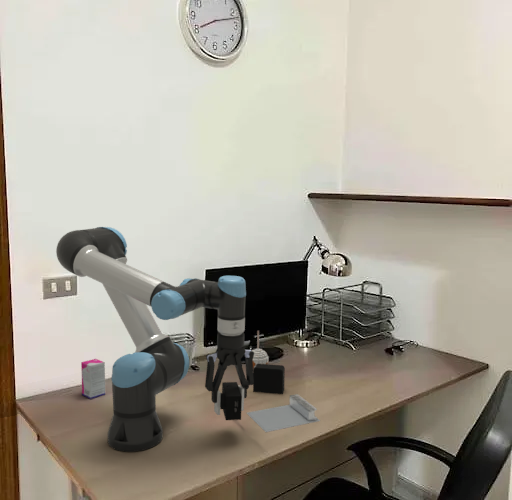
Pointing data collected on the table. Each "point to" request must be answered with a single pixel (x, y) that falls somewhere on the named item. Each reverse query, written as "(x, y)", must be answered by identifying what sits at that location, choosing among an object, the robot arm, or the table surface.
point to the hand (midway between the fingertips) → (228, 410)
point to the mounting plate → (278, 418)
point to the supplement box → (93, 378)
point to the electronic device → (268, 378)
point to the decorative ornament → (259, 354)
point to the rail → (303, 407)
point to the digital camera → (231, 401)
